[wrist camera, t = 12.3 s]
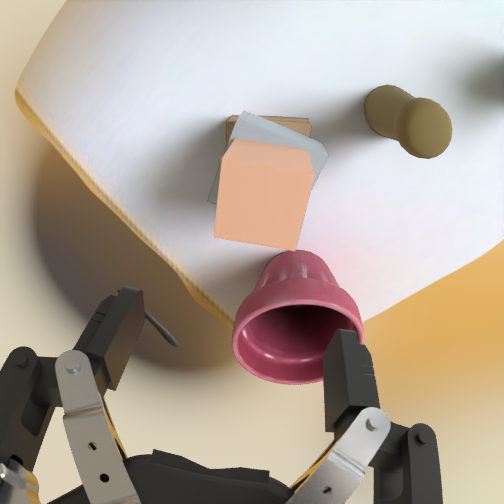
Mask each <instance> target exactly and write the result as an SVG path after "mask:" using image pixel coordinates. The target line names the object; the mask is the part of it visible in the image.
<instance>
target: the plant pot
mask: <svg viewBox="0 0 504 504" xmlns="http://www.w3.org/2000/svg"><path fill="white" fill-rule="evenodd" d="M337 329H345V330H352V331H356V333H357V338H358V343H359V344H362V345H363V344H364V333H363V326H362V321H361V317H360V313H359V310H358V307H357V305H356V303H355V301H354V300H353V298H352V297H351V296H350V295H349V294H348V293H347V292H346V291H345V290H343V289H342V288H340V287H339V285H338V283H337V281H336V279H335V278H334V276H333V275H332V273H331V271H330V270H329V268H328V266H327V264H326V263H325V262H324V261H323V260H322V259H321V258H320V257H319V256H317V255H315V254H313V253H311V252H308V251H303V250H296V251H287V252H284V253H281V254H279V255H277V256H276V257H274V258H273V259H272V260H271V261H270V262H269V263H268V264H267V266H266V268H265V270H264V272H263V274H262V275H261V277H260V279H259V281H258V283H257V285H256V287H255V289H254V291H253V293H251V294H250V295H249V296H248V297H247V298H246V299H245V300H244V301H243V303H242V304H241V306H240V307H239V309H238V311H237V314H236V318H235V323H234V329H233V335H232V349H233V352H234V355H235V357H236V359H237V360H238V362H239V363H240V364H241V365H242V366H243V367H244V368H245V369H246V370H247V371H249V372H250V373H252V374H253V375H255V376H257V377H259V378H262V379H264V380H267V381H270V382H275V383H280V384H289V385H301V384H310V383H315V382H320V381H323V357H324V353H325V351H326V349H327V347H328V345H329V343H330V341H331V339H332V337H333V335H334V334H335V332H336V330H337Z"/></svg>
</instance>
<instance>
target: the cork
mask: <svg viewBox="0 0 504 504" xmlns="http://www.w3.org/2000/svg"><path fill="white" fill-rule="evenodd" d="M364 114H365V117H366V120H367V122H368V124H369V125H370V127H371V128H372V129H373V130H374V131H375V132H376V133H378V134H380V135H382V136H385V137H388V138H391V139H394V140H397V141H399V143H400V145H401V146H402V147H403V148H404V149H405V150H406V151H407V152H408V153H409V154H411V155H413V156H415V157H418V158H425V159H430V158H434V157H437V156H438V155H440V154H441V153H443V152H444V151H445V149H446V148H447V147H448V145H449V143H450V141H451V137H452V125H451V120H450V118H449V116H448V114H447V112H446V111H445V110H444V109H443V108H442V107H441V106H440V105H439V104H438V103H436V102H434V101H432V100H430V99H426V98H415V97H413V96H412V95H410V94H409V93H407V92H406V91H404V90H402V89H400V88H398V87H396V86H392V85H384V86H380V87H378V88H376V89H374V90H373V91H372V92H371V93H370V94H369V96H368V97H367V99H366V102H365V111H364Z"/></svg>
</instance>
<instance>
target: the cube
mask: <svg viewBox="0 0 504 504" xmlns="http://www.w3.org/2000/svg"><path fill="white" fill-rule="evenodd" d="M314 175H315V174H314V170H313V166H312V163H311V159H310V155H309V151H307V150H303V149H298V148H292V147H287V146H282V145H276V144H271V143H265V142H259V141H253V140H247V139H240V138H235V139H234V141H233V142H232V144H231V145H230V147H229V148H228V150H227V151H226V153H225V154H224V156H223V158H222V163H221V172H220V181H219V190H218V199H217V209H216V219H215V229H214V237H216V238H222V239H228V240H233V241H239V242H245V243H251V244H256V245H262V246H268V247H273V248H279V249H285V250H290V251H296V247H297V243H298V239H299V235H300V231H301V228H302V224H303V220H304V216H305V212H306V208H307V204H308V200H309V196H310V192H311V187H312V183H313V179H314Z"/></svg>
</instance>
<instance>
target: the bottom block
mask: <svg viewBox="0 0 504 504" xmlns="http://www.w3.org/2000/svg"><path fill="white" fill-rule="evenodd" d="M239 116H240V115H233V116H231V117H230V118H229V119H228V120H227V121H226V147H227V144H228V142H229V139H230V136H231V134H232V131H233V128H234V126H235V123H236V121H237V118H238V117H239ZM259 117H262V118H264V119H267V120H269V121H272V122H274V123H277V124H279V125H282V126H284V127H287V128H289V129H291V130H294V131H296V132H299V133H301V134H303V135H305V136H308V137H310V135H311V124H310V122H309V120H308V119H306V118H293V117H277V116H259Z"/></svg>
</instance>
